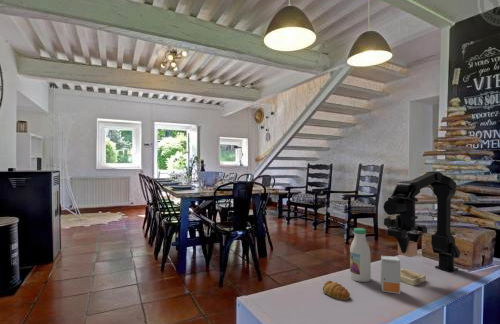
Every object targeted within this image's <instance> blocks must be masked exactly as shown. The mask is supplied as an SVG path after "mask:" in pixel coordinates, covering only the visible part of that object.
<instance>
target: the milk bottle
mask: <svg viewBox="0 0 500 324" xmlns="http://www.w3.org/2000/svg"><path fill="white" fill-rule="evenodd" d="M353 235H354V237H353V240H352V242H351V244H350V246H349V247H350V249H349V276H350V278H351V279H352V280H353V281H356V282H362V283H367V282H370V281H371V280H372V279H371V278H372V277H371V276H372V275H371V274H372V272H371V271H372V270H371V265H372V263H371V248H370V246H369V243H368V241H367V238H366V237H367V236H366V235H367V229H365V228H362V227H354V228H353Z"/></svg>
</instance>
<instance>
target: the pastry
mask: <svg viewBox="0 0 500 324" xmlns="http://www.w3.org/2000/svg"><path fill="white" fill-rule="evenodd" d="M322 291H323V293H324V294H325V295H327V296H329V297H331V298H334V299H336V300H342V301H346V300H348V299H350V297H351V294H350V292H349V290H348V289H347V288H346V287H345V286H343V285H342V284H340V283H339V282H337V281H335V282H334V281H333V280H328V281H326V282H325V283H324V284H323V287H322Z"/></svg>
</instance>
